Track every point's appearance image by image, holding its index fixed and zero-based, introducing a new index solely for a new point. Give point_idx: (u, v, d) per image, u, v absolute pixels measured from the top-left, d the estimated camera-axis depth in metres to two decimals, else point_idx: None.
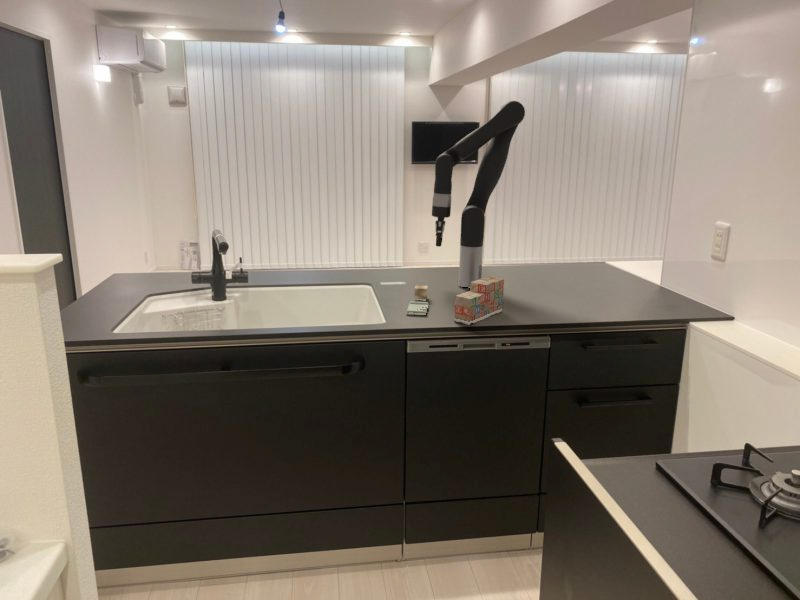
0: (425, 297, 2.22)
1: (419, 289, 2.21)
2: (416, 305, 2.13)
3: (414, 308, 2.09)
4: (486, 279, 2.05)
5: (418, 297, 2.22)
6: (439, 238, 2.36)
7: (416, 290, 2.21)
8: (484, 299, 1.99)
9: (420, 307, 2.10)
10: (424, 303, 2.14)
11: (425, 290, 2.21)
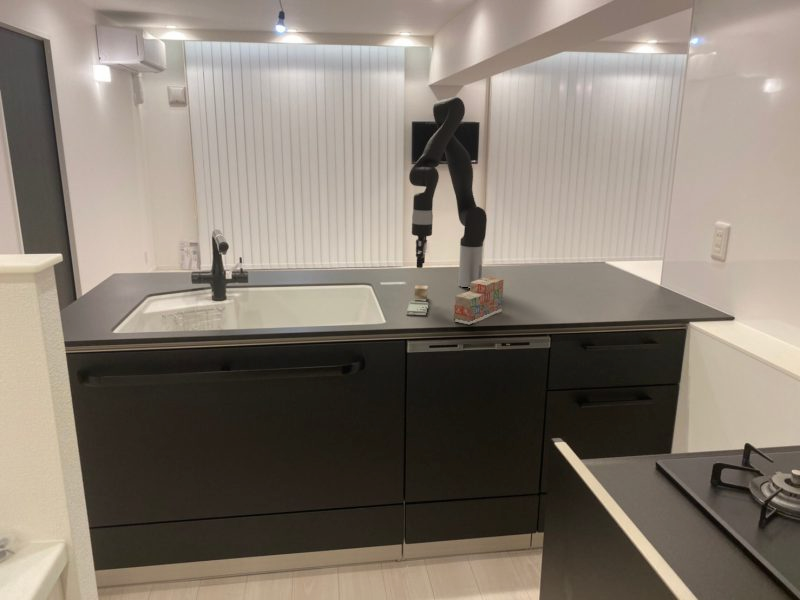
0: (425, 297, 2.22)
1: (419, 289, 2.21)
2: (416, 305, 2.13)
3: (414, 308, 2.09)
4: (486, 279, 2.05)
5: (418, 297, 2.22)
6: (420, 259, 2.15)
7: (416, 290, 2.21)
8: (484, 299, 1.99)
9: (420, 307, 2.10)
10: (424, 303, 2.14)
11: (425, 290, 2.21)
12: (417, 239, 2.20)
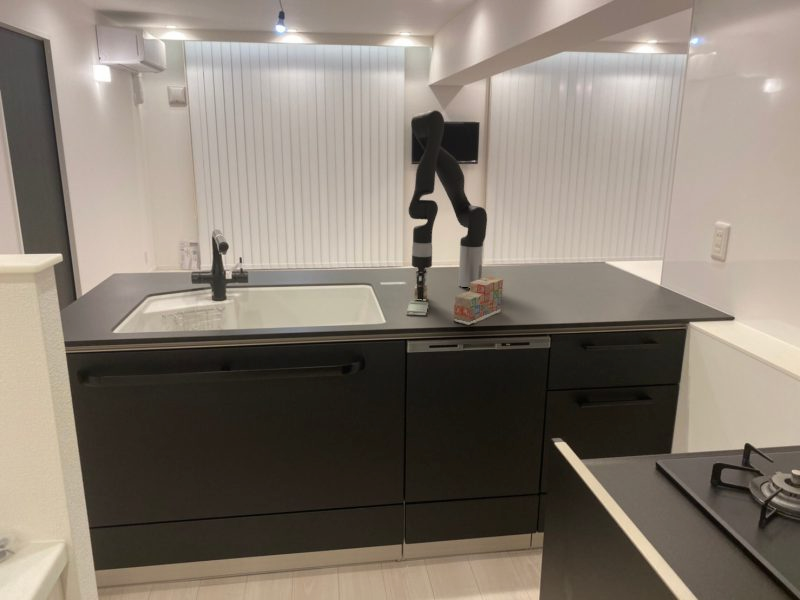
0: (425, 297, 2.22)
1: None
2: (416, 305, 2.13)
3: (414, 308, 2.09)
4: (485, 279, 2.05)
5: None
6: (421, 292, 2.20)
7: (416, 290, 2.21)
8: (483, 299, 1.99)
9: (420, 307, 2.10)
10: (424, 303, 2.14)
11: (425, 290, 2.21)
12: None
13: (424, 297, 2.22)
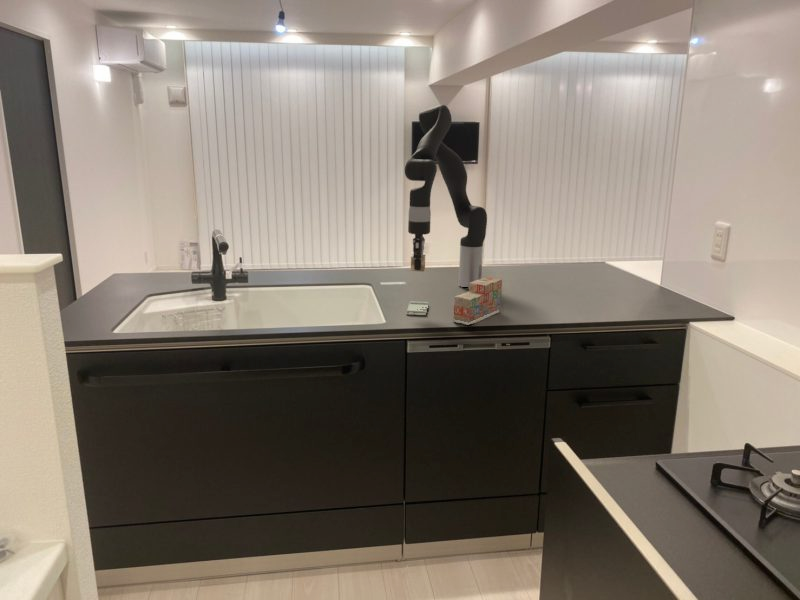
0: (422, 266, 2.03)
1: None
2: (416, 305, 2.13)
3: (414, 308, 2.09)
4: (484, 279, 2.05)
5: None
6: (418, 260, 2.02)
7: (412, 259, 2.03)
8: (483, 300, 1.98)
9: (420, 307, 2.10)
10: (424, 303, 2.14)
11: (422, 259, 2.03)
12: None
13: (421, 267, 2.04)
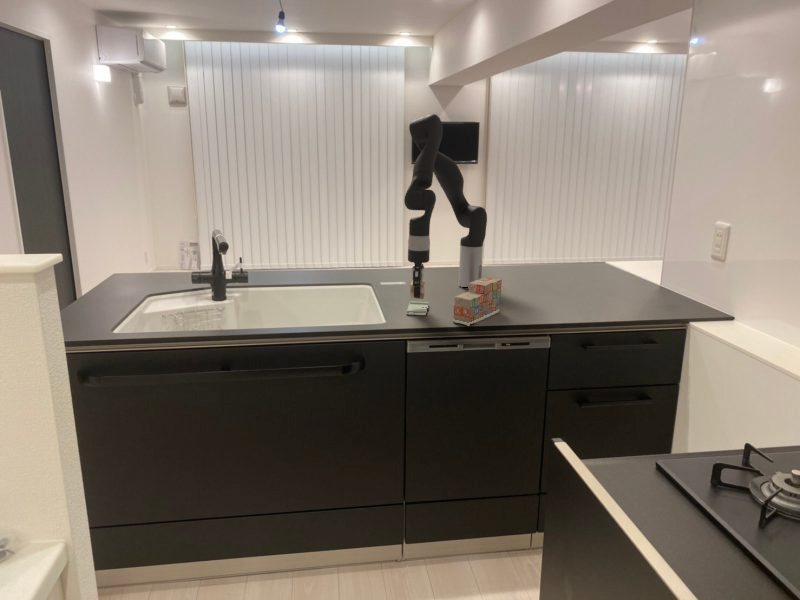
0: (422, 294, 2.06)
1: None
2: (416, 305, 2.13)
3: (414, 308, 2.09)
4: (484, 280, 2.05)
5: None
6: (417, 288, 2.04)
7: (412, 286, 2.06)
8: (483, 300, 1.98)
9: (420, 307, 2.10)
10: (424, 303, 2.14)
11: (422, 286, 2.05)
12: (414, 265, 2.07)
13: (421, 294, 2.06)
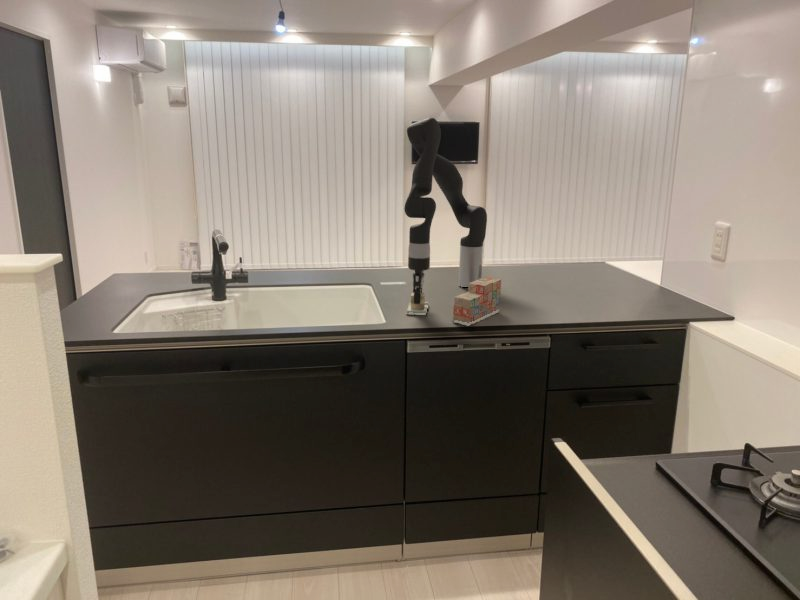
0: (422, 305, 2.07)
1: None
2: None
3: None
4: (483, 280, 2.04)
5: (415, 305, 2.07)
6: (417, 294, 2.03)
7: (412, 298, 2.07)
8: (482, 300, 1.98)
9: None
10: None
11: (422, 298, 2.06)
12: (414, 273, 2.08)
13: (421, 305, 2.07)
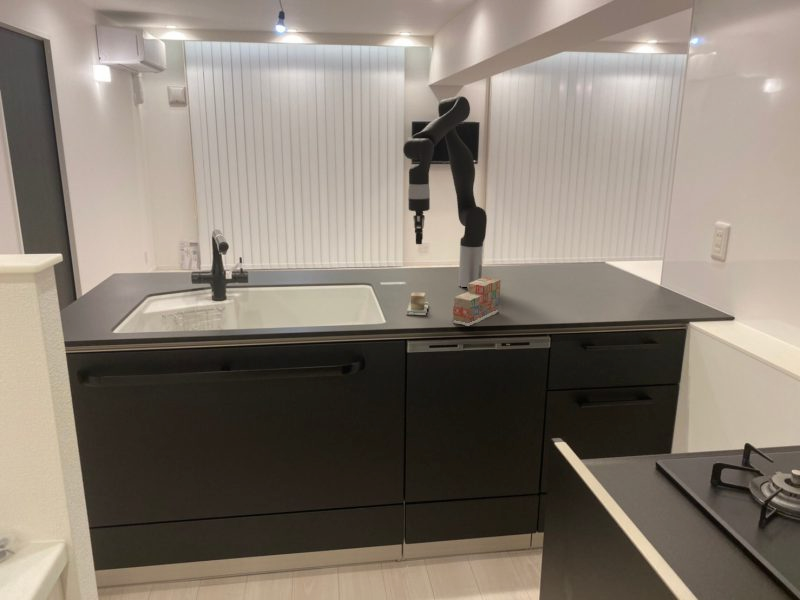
0: (422, 305, 2.07)
1: (416, 296, 2.07)
2: None
3: None
4: (483, 280, 2.04)
5: (415, 305, 2.07)
6: (419, 235, 2.08)
7: (412, 298, 2.07)
8: (482, 300, 1.98)
9: None
10: None
11: (422, 298, 2.06)
12: (414, 215, 2.12)
13: (421, 305, 2.07)
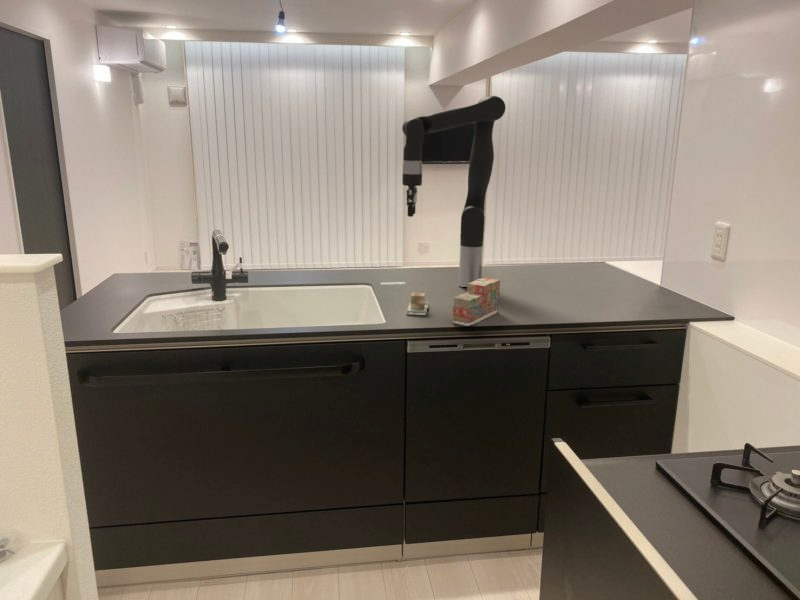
0: (422, 305, 2.07)
1: (416, 296, 2.07)
2: None
3: None
4: (482, 280, 2.04)
5: (415, 305, 2.07)
6: (410, 208, 2.24)
7: (412, 298, 2.07)
8: (482, 300, 1.98)
9: None
10: None
11: (422, 298, 2.06)
12: None
13: (421, 305, 2.07)
